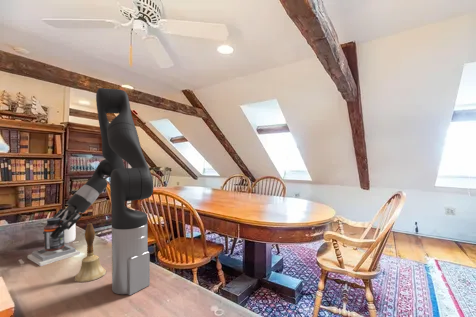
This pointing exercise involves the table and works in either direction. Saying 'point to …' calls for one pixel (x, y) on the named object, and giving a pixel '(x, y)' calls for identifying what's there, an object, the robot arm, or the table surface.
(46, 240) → the supplement bottle
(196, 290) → the table surface
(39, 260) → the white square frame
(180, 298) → the table surface
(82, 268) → the hand bell
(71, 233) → the mug
